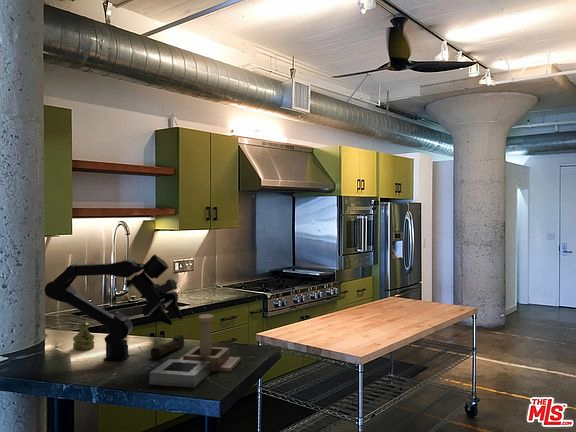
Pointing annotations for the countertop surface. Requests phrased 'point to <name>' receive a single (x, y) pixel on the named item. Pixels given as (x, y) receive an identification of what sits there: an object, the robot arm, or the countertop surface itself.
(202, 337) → the handle
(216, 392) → the countertop surface
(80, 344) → the olive green tiered piece
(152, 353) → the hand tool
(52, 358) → the countertop surface
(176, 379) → the socket block
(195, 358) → the tan piece
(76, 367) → the countertop surface
